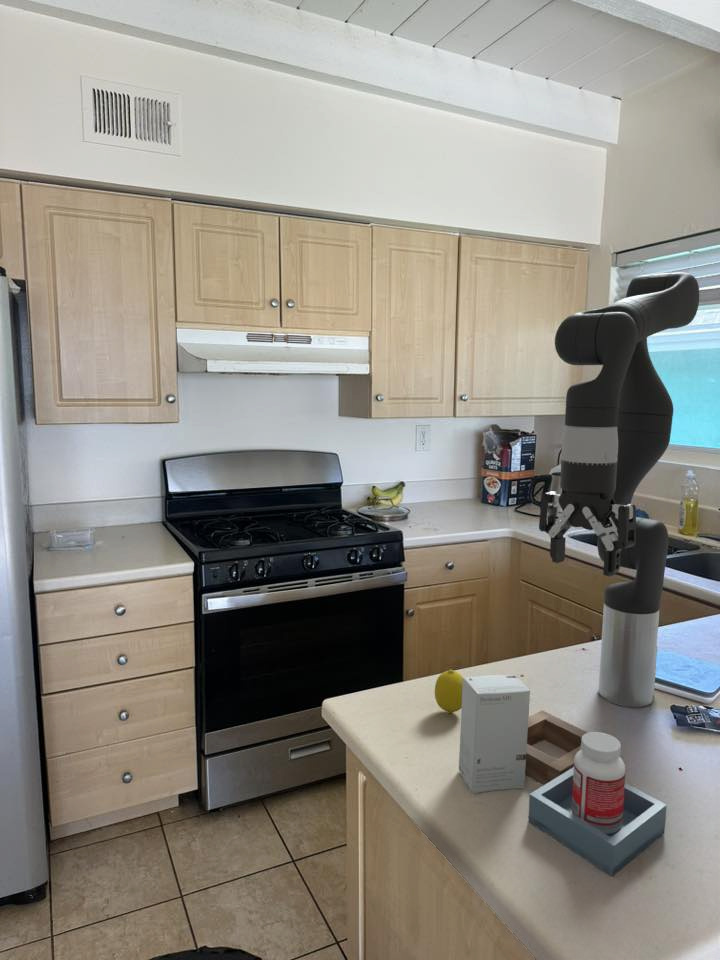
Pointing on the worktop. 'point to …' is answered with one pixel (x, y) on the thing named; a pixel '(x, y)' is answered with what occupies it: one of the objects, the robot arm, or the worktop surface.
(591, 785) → the pill bottle
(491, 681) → the skincare box
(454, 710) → the lemon
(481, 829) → the worktop surface
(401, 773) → the worktop surface
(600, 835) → the tray
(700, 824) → the worktop surface
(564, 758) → the collar block
